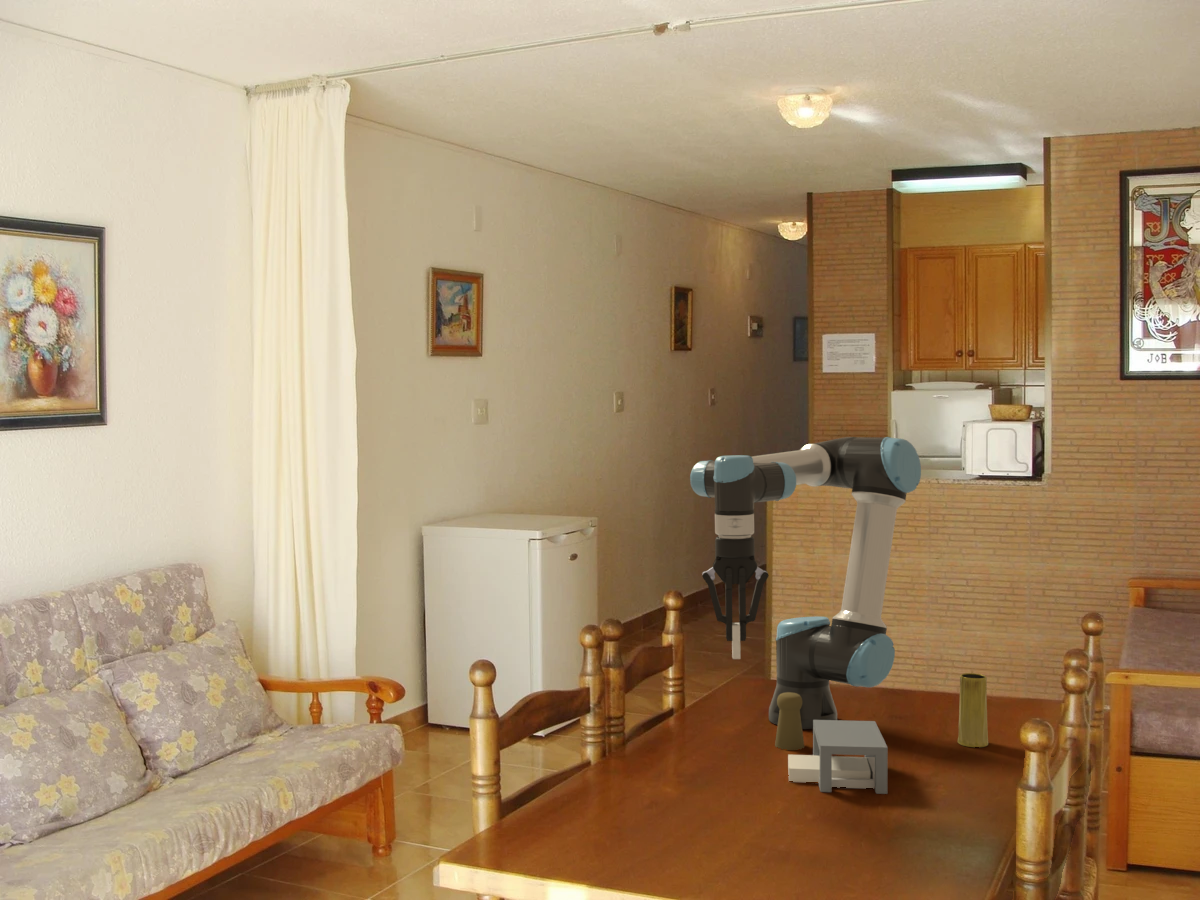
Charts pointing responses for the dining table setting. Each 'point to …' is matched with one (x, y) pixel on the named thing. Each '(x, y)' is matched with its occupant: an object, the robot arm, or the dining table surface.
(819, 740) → the shelf
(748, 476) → the robot arm
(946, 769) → the dining table surface
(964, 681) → the vase
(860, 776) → the cover
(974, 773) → the dining table surface
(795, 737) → the cork
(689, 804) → the dining table surface
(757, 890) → the dining table surface
